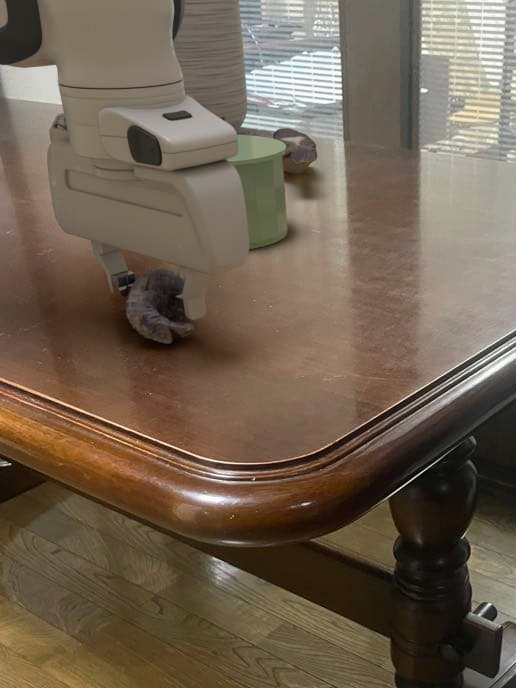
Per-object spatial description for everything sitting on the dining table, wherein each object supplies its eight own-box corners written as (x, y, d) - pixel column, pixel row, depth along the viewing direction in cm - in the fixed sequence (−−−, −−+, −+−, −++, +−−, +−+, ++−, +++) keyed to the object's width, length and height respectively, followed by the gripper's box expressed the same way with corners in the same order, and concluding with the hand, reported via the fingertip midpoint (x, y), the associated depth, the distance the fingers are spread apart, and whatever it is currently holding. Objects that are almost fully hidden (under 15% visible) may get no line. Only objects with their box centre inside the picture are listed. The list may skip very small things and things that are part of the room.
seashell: (177, 363, 71) (162, 324, 79) (212, 307, 70) (193, 273, 78) (117, 330, 68) (107, 293, 76) (151, 271, 67) (138, 240, 75)
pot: (138, 236, 97) (124, 154, 92) (230, 211, 106) (221, 135, 101) (222, 259, 90) (212, 172, 85) (312, 231, 99) (308, 150, 94)
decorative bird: (306, 158, 131) (304, 122, 128) (336, 198, 111) (334, 156, 108) (264, 160, 130) (261, 123, 127) (286, 201, 110) (283, 158, 107)
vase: (194, 159, 131) (159, -123, 112) (97, 145, 139) (48, -119, 120) (276, 137, 145) (257, -115, 126) (183, 126, 153) (152, -112, 134)
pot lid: (118, 160, 92) (111, 117, 90) (222, 140, 102) (218, 101, 99) (212, 180, 85) (207, 134, 82) (315, 156, 94) (312, 114, 92)
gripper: (12, 115, 68) (52, 289, 76) (184, 147, 58) (210, 344, 66) (80, 105, 73) (112, 271, 80) (253, 133, 62) (270, 321, 70)
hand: (157, 305), depth 73 cm, fingers closed on seashell, 7 cm apart
